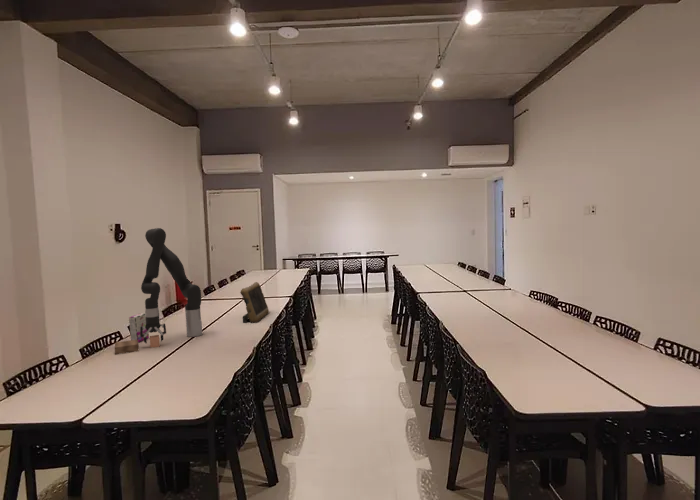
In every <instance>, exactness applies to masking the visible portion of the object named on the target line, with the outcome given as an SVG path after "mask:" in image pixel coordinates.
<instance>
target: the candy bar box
mask: <svg viewBox="0 0 700 500" xmlns="http://www.w3.org/2000/svg"><path fill="white" fill-rule="evenodd" d="M128 323H129V332H130V340H137V339H138V342H139V343H141V342H144V337H141V336H140V326H146V317H145V312H141V313H138V314H134V315H132V316H129V317H128ZM146 331H147V329H146V328H144V330H143V334H145V333H146ZM146 339H147V340H148V339H150V335H149V333H148V334H147V336H146Z"/></svg>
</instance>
